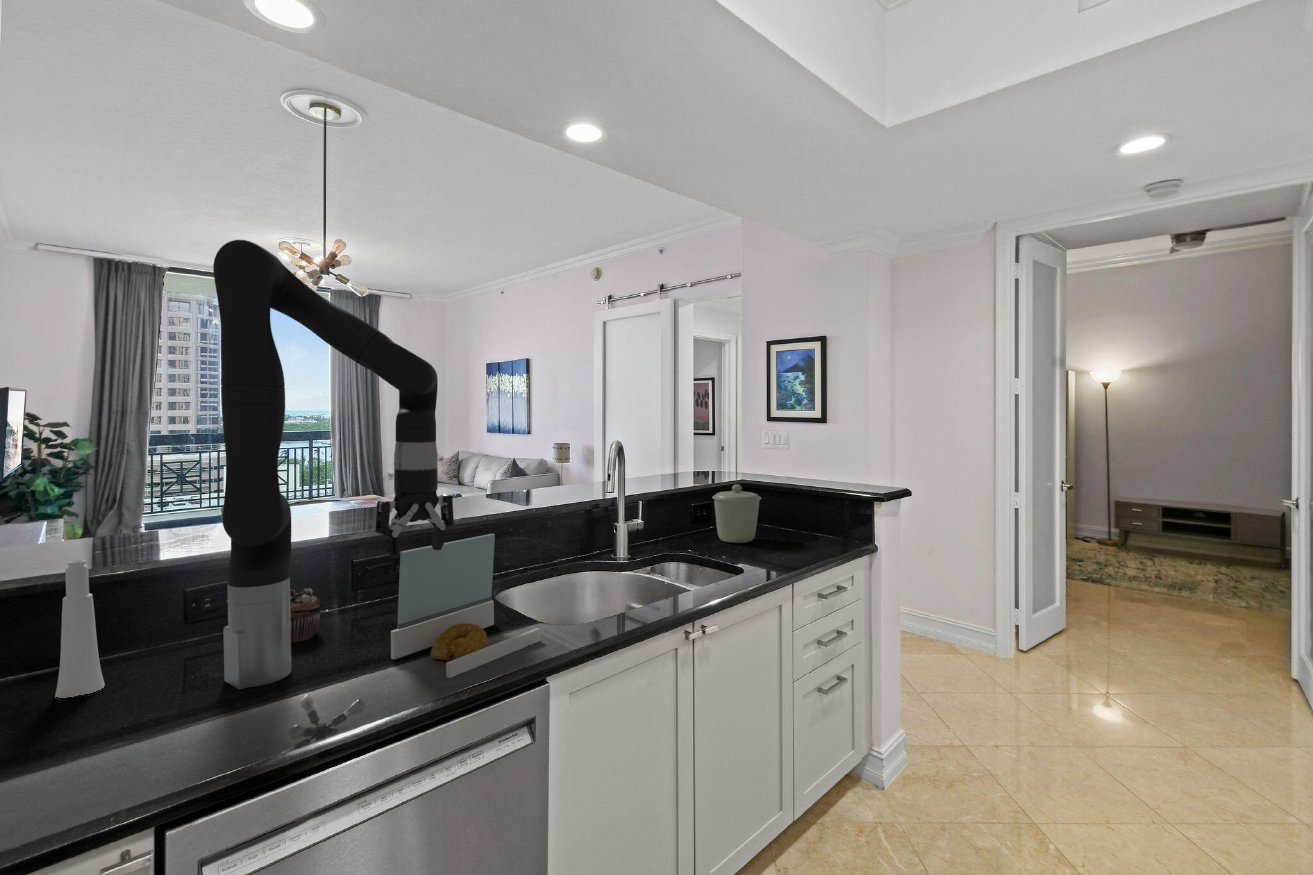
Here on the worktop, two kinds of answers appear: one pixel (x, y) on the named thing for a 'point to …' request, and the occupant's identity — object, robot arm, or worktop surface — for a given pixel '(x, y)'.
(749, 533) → the canister
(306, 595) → the cupcake
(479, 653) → the white channel
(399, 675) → the worktop surface
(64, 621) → the cosmetic bottle
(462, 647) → the bagel
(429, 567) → the cover
